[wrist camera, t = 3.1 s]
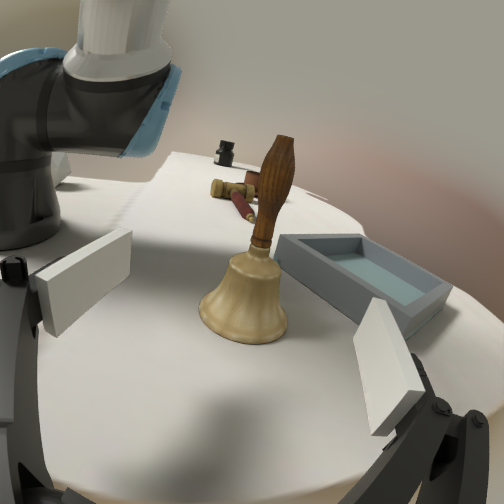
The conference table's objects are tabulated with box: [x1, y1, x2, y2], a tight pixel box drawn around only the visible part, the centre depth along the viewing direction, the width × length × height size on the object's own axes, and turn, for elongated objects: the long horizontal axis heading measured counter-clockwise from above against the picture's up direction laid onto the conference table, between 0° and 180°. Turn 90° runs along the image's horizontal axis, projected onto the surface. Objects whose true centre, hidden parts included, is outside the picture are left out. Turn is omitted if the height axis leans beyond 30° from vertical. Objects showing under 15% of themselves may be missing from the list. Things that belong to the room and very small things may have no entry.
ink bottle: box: [214, 140, 234, 167], centre depth 134 cm, size 10×9×12 cm
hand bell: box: [199, 135, 295, 344], centre depth 23 cm, size 8×8×16 cm
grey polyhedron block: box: [51, 152, 71, 187], centre depth 49 cm, size 8×9×10 cm
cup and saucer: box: [235, 171, 260, 197], centre depth 82 cm, size 12×12×6 cm
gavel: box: [211, 179, 255, 222], centre depth 63 cm, size 21×5×10 cm
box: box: [273, 234, 453, 341], centre depth 38 cm, size 20×20×4 cm
